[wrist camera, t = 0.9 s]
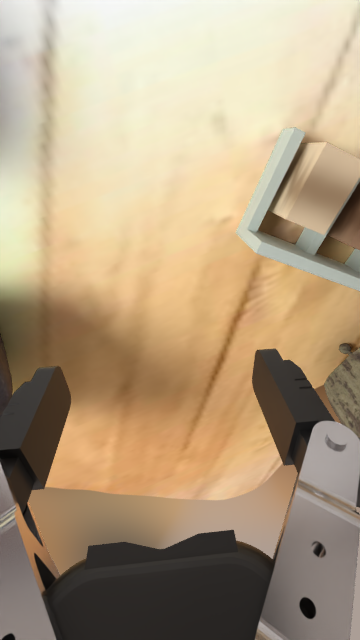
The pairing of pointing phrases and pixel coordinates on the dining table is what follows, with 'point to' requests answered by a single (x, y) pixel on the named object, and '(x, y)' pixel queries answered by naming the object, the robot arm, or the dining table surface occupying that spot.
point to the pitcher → (4, 379)
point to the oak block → (316, 185)
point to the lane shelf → (303, 254)
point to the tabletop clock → (346, 389)
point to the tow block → (348, 222)
